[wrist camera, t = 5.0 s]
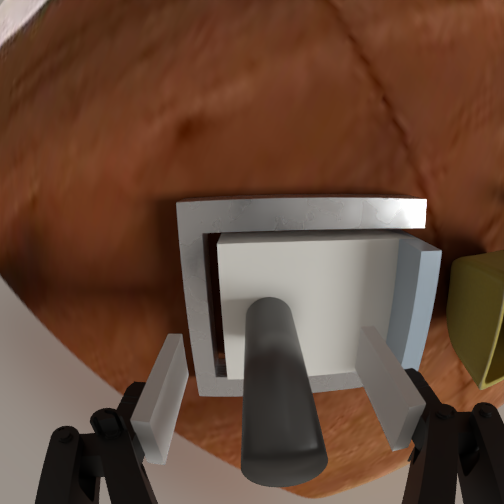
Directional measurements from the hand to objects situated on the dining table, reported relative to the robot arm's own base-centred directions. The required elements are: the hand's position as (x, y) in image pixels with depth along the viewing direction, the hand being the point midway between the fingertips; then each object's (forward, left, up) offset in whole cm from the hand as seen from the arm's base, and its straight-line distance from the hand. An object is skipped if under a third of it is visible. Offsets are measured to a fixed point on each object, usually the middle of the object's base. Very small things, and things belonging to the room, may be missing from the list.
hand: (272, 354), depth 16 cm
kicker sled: (+3, 0, -7) cm, 8 cm away
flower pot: (+19, 0, -8) cm, 20 cm away
